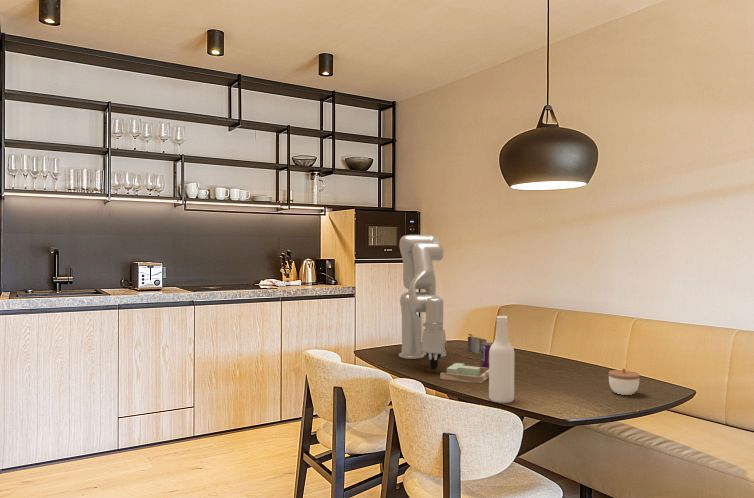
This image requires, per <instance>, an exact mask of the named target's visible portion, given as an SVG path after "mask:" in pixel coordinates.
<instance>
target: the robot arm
mask: <svg viewBox="0 0 754 498" xmlns="http://www.w3.org/2000/svg"><path fill="white" fill-rule="evenodd" d="M398 245H399V250H400V254H401V258H402V281H403V286H404V288H405V289H408V292H404V293H402V294H401V296H400V298H399V303H400V309H401V352H399V353H398V357H399V358H402V359H407V360H408V359H409V360H410V359H411V360H413V359H415V360H416V359H422V358H424V357H425V356H427V357H428V359H429V367H430V370H436V369H437V368H438V366H439V359H440V358H441V357H446V356H447V337H446V332H445V331H446V330H445V329H444V299H443V298H441V297H440V296H439V295H437V292H436V291H437V289H436V288H437V285H436V284H437V283H436V281H437V280H436V275H435V270H434V265H433V261H434V262H435V261H438V262H439V261H441V260H442V259H443V257H444V248H443V245H442V244H441V242H440V240H439V239H437V237H436V236H434V235H430V234H407V235H403V236H402V237H401V238H400V239H399V244H398ZM416 290H424V291H416ZM417 313H425V322H422V319H421V318H420V316H419V314H417ZM422 326H424V329H422ZM422 331H423V332H422Z"/></svg>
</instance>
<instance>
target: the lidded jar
mask: <svg viewBox="0 0 754 498" xmlns="http://www.w3.org/2000/svg"><path fill="white" fill-rule="evenodd" d="M640 377H641V376H640V373H638V372H635V371H633V370H632V371H631V370H626V368H622V370H621V369H613V370H609V371H608V382H609V383H608V384H609V386H610V388H611V390H612V391H613V392H614V394H615V393H617V394H621V395H632V394H635V393H636V392H637V391H638V389H639V386H640V379H641V378H640ZM617 394H616V395H617ZM621 395H620V396H621ZM632 396H633V395H632Z"/></svg>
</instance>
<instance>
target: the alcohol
mask: <svg viewBox="0 0 754 498" xmlns="http://www.w3.org/2000/svg"><path fill="white" fill-rule="evenodd" d="M495 318H496V323H495V324H496V325H495V326H496V327H495V337H494V341H493V342H492V343H493V344H492V345H491V347H490V351H489V378H488V398H489V399H490V401H491V402H493V403H497V402H498V404H509V403H512V402H514V400H515V349H514V347H513V346H512V344H511V343H510V340H509V328H508V327H509V326H508V322H509V320H508V316H507V315H497V316H496V317H495Z"/></svg>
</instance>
